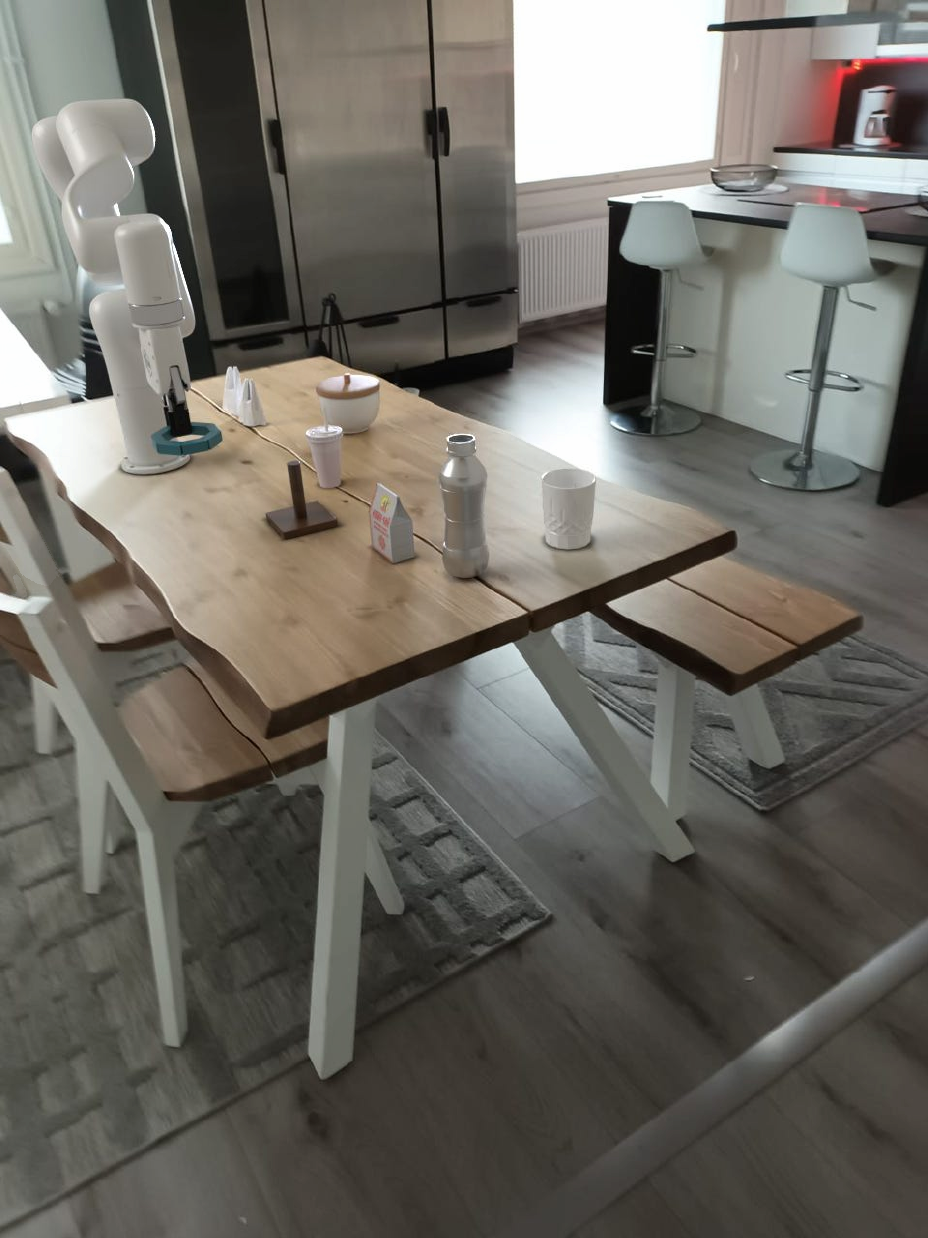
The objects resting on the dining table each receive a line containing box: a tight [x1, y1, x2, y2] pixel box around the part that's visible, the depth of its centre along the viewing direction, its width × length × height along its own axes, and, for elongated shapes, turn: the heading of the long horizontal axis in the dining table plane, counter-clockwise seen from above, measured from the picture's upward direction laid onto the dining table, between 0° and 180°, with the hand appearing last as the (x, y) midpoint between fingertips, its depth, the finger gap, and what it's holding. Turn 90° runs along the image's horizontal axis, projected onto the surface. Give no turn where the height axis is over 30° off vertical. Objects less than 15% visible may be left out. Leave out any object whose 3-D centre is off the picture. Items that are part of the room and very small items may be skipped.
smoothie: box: [305, 406, 344, 489], centre depth 163 cm, size 6×6×14 cm
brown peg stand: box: [265, 460, 339, 540], centre depth 150 cm, size 9×9×10 cm
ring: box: [151, 421, 223, 456], centre depth 146 cm, size 10×10×2 cm
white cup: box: [541, 468, 597, 550], centre depth 141 cm, size 8×8×10 cm
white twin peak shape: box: [221, 365, 267, 427], centre depth 197 cm, size 12×4×11 cm, turn 40°
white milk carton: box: [368, 482, 416, 564], centre depth 140 cm, size 4×7×10 cm, turn 31°
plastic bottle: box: [438, 433, 490, 579], centre depth 130 cm, size 6×7×20 cm
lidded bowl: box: [315, 372, 381, 435], centre depth 190 cm, size 13×13×11 cm
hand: (180, 431), depth 149 cm, fingers closed on ring, 1 cm apart
